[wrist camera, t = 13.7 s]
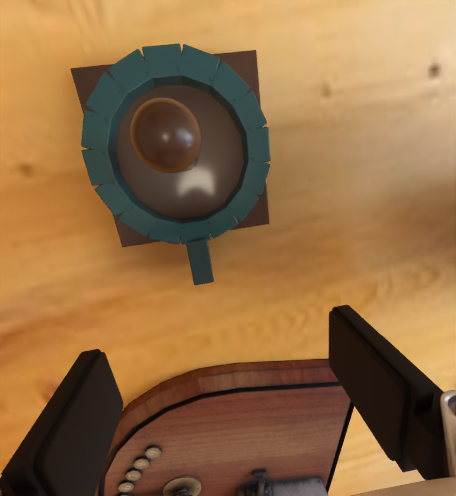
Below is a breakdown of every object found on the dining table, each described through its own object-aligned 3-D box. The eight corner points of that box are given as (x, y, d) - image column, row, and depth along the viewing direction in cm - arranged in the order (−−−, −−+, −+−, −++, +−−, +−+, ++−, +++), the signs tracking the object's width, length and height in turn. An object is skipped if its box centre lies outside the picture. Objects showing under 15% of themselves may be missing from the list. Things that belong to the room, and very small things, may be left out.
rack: (252, 57, 17) (407, -246, 5) (265, 220, 21) (368, 295, 8) (78, 75, 16) (-320, -250, 4) (126, 243, 20) (12, 364, 8)
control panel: (330, 573, 32) (91, 618, 28) (312, 520, 37) (106, 551, 33) (395, 397, 23) (48, 423, 18) (359, 357, 27) (79, 370, 23)
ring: (256, 48, 16) (262, 35, 14) (272, 263, 21) (278, 270, 19) (65, 66, 15) (51, 54, 13) (131, 288, 20) (126, 297, 18)
